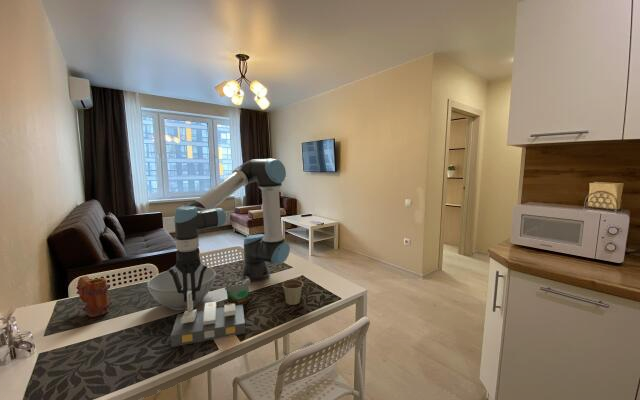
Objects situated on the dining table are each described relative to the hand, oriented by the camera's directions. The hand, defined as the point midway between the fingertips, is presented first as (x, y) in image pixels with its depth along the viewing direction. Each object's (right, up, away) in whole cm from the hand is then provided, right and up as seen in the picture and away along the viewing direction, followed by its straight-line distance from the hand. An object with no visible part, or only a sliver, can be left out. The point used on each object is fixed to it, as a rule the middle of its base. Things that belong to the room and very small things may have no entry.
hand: (190, 308), depth 101 cm
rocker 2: (+8, -1, -2) cm, 9 cm away
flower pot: (+37, -5, +19) cm, 42 cm away
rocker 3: (+15, -1, 0) cm, 15 cm away
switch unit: (+8, -7, -1) cm, 11 cm away
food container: (+14, -5, +18) cm, 23 cm away
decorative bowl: (-11, -5, +17) cm, 21 cm away
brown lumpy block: (-44, -5, +9) cm, 45 cm away
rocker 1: (+2, -1, -4) cm, 5 cm away
